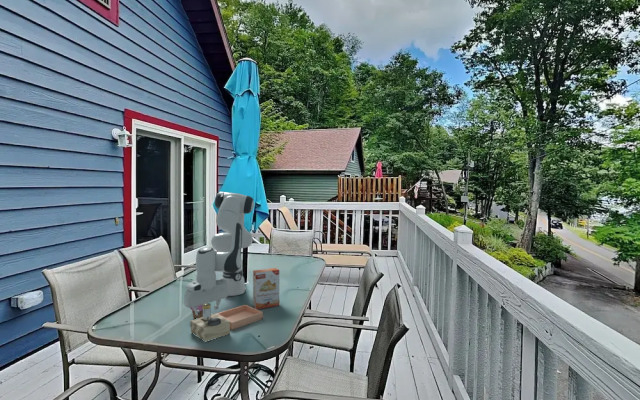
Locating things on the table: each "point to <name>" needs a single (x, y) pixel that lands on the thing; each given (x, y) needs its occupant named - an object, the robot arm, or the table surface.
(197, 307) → the cupcake
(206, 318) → the pin
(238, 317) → the tray
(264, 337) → the table surface
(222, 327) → the block
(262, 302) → the cracker box
